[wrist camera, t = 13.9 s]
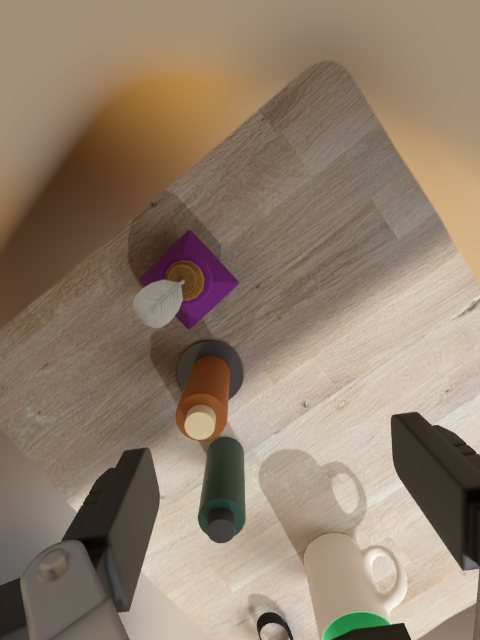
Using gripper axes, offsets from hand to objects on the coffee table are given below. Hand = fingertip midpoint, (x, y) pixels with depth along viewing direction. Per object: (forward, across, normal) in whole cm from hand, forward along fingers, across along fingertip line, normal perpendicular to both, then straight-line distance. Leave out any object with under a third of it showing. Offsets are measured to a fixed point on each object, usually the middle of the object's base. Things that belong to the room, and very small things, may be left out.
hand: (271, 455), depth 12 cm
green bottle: (+30, +5, +19) cm, 36 cm away
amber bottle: (+29, +5, +8) cm, 31 cm away
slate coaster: (+30, +5, +8) cm, 31 cm away
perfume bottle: (+30, +6, -3) cm, 31 cm away
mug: (+29, -8, +36) cm, 47 cm away
